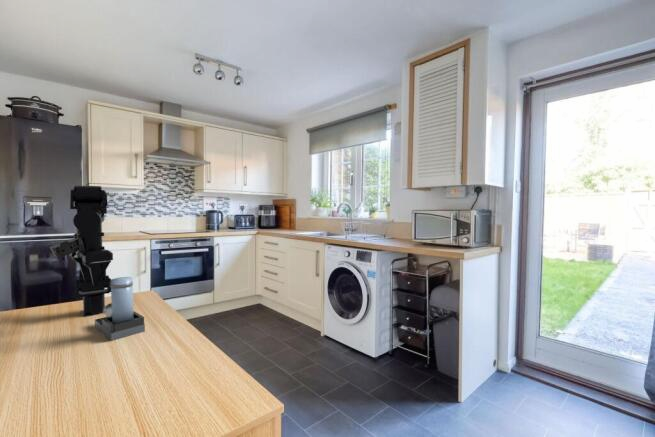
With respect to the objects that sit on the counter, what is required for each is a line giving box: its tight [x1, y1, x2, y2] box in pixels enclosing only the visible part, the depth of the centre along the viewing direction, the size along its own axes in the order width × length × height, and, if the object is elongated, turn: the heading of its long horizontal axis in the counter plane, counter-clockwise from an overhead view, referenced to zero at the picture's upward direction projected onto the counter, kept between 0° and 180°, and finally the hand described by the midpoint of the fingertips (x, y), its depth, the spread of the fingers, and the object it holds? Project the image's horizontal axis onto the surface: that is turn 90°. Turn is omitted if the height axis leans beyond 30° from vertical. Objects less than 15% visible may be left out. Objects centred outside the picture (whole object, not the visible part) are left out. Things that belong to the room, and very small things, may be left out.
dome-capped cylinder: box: [110, 276, 134, 324], centre depth 86 cm, size 5×5×13 cm
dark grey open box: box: [94, 302, 146, 342], centre depth 88 cm, size 15×8×6 cm, turn 51°
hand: (91, 282), depth 89 cm, fingers open, 9 cm apart
